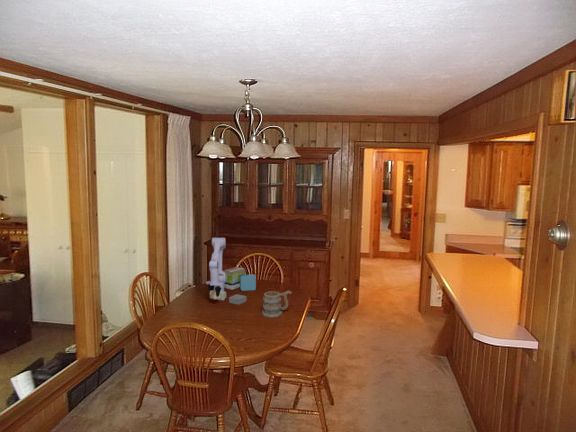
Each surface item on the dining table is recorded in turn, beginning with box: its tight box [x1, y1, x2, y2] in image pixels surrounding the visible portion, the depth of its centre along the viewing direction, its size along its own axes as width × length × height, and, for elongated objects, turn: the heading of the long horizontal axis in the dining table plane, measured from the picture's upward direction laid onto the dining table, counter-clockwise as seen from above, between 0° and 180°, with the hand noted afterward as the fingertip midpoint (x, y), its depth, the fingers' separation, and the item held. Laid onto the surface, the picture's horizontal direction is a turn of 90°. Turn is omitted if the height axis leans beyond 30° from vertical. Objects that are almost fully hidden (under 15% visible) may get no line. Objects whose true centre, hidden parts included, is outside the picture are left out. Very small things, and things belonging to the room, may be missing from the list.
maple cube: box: [209, 290, 220, 300], centre depth 294 cm, size 5×5×5 cm
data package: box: [239, 273, 257, 292], centre depth 328 cm, size 12×4×12 cm, turn 101°
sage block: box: [216, 290, 227, 301], centre depth 306 cm, size 5×5×5 cm
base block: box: [228, 293, 247, 305], centre depth 300 cm, size 9×9×4 cm
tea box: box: [223, 266, 246, 291], centre depth 335 cm, size 15×10×15 cm
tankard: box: [261, 290, 293, 318], centre depth 277 cm, size 20×13×15 cm, turn 105°
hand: (214, 295), depth 295 cm, fingers closed on maple cube, 5 cm apart
